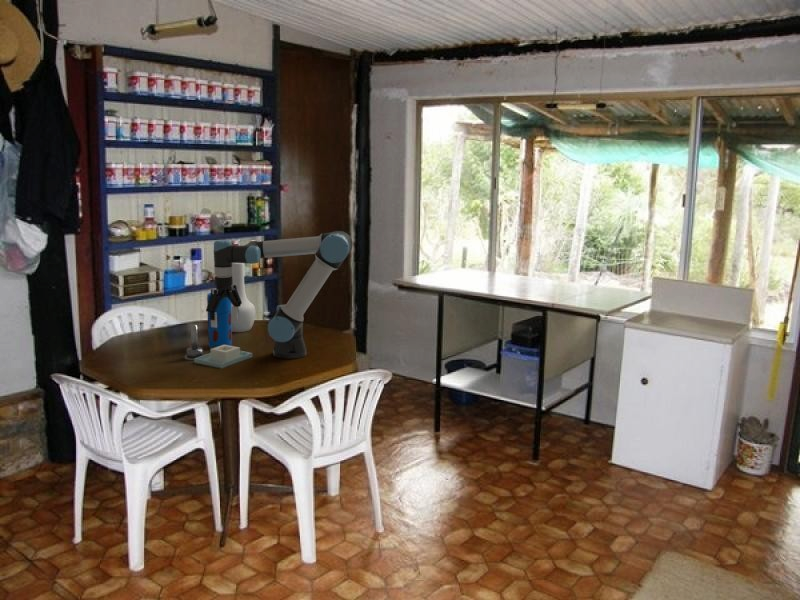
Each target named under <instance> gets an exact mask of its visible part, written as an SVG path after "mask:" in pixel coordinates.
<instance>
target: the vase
mask: <svg viewBox="0 0 800 600" xmlns="http://www.w3.org/2000/svg"><path fill="white" fill-rule="evenodd" d="M232 274H233V275H232V279H233V284H232V285H236V287H237V292H238V294H239V297H240V299H241V302H242V304H240V307H239V306H238V321H232V333H244V332H249V331H251V329H252V327H253V325H254V323H255V319H256V308H255V305H254V304H253V303H252V302H251V301H250V300H249V299H248V296H247V294H246V290H245V289H246V288H245V263H232ZM232 306H233V304H232V303H231V317H232Z"/></svg>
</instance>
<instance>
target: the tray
mask: <svg viewBox="0 0 800 600" xmlns="http://www.w3.org/2000/svg"><path fill="white" fill-rule="evenodd" d="M251 358H253V353H252V352H249V351H243V350H240V357H238V358H235V359H232V360H230V361H227V362H224V363H222V362H217V361H212V360H211V355H210V352H209V353H206V354H204V355H203V356H200V357H197V358H194V361H193V362H194V364H198V365H201V366H206V367H207V366H208V367H212V368H216V369H224V368H227V367H230V366H233V365H235V364H237V363H240V362H241V363H242V362H243V361H246V360H248V359H249V360H250V359H251Z"/></svg>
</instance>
